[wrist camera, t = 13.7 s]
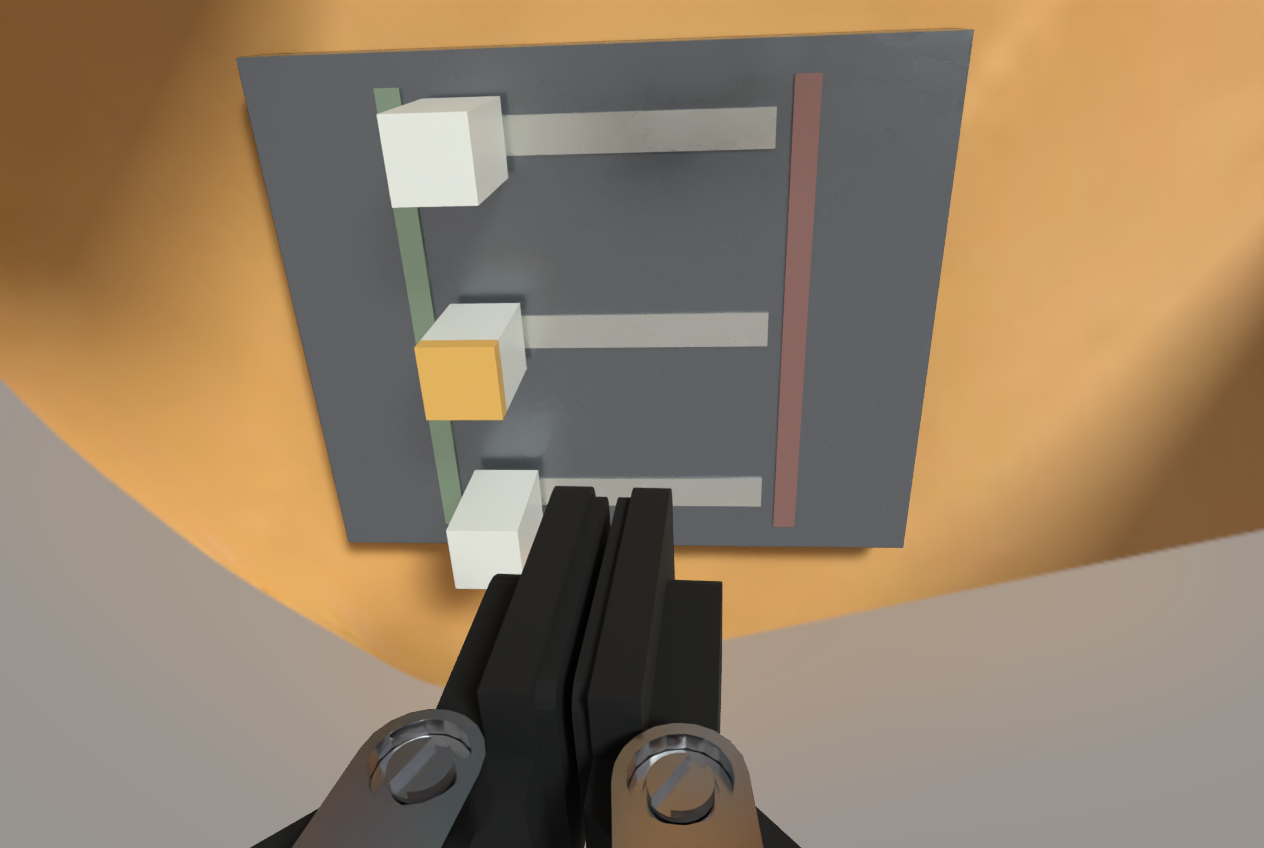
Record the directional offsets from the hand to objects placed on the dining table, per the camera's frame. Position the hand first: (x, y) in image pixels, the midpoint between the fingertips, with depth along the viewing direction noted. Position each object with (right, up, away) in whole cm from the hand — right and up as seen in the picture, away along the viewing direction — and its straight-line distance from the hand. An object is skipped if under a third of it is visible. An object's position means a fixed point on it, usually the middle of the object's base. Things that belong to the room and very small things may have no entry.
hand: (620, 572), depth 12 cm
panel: (-1, +6, +18) cm, 19 cm away
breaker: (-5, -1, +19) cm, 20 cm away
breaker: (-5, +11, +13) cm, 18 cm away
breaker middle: (-5, +5, +16) cm, 18 cm away
